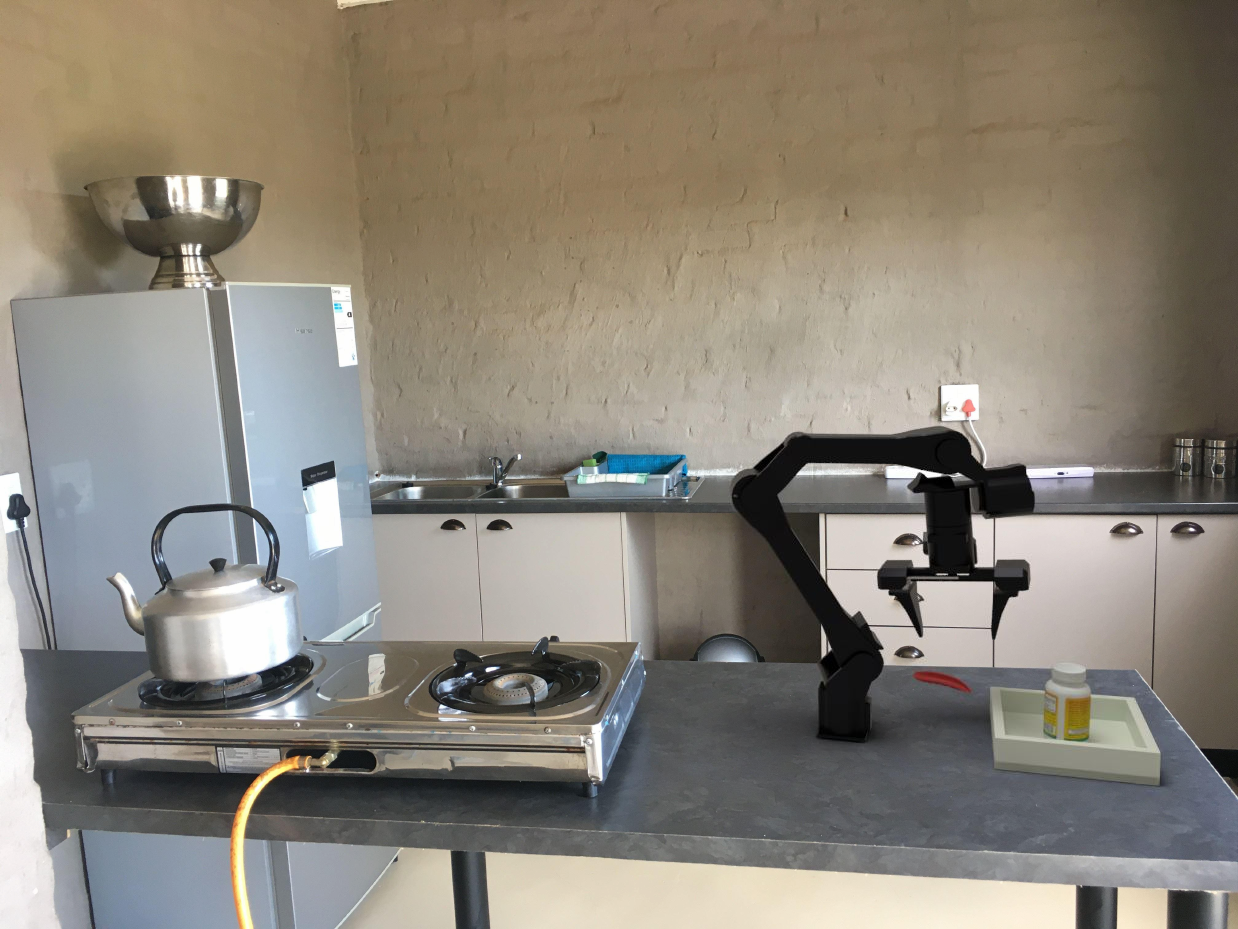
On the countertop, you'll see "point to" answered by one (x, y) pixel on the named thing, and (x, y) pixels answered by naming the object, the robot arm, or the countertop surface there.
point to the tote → (1109, 754)
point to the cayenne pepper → (941, 680)
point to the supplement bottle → (1067, 704)
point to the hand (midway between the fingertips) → (957, 637)
